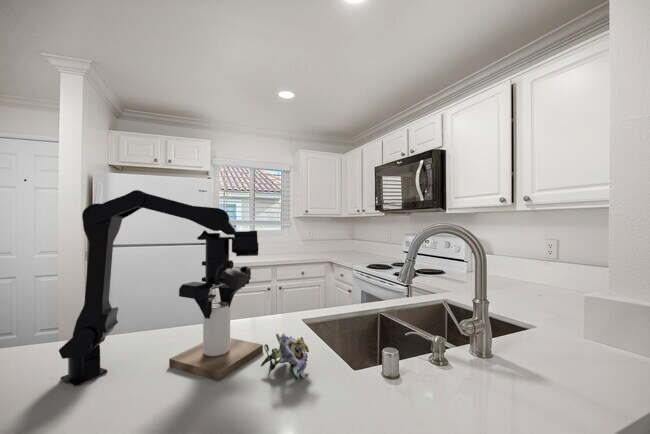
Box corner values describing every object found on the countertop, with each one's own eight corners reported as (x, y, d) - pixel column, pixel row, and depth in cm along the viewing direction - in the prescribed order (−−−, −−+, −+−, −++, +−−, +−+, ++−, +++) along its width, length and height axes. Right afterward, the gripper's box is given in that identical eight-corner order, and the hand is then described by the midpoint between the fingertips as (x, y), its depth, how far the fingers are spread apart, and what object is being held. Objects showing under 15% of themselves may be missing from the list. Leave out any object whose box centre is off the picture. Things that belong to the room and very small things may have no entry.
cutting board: (169, 367, 72) (169, 358, 72) (218, 342, 87) (218, 335, 87) (218, 381, 65) (218, 372, 65) (262, 352, 80) (262, 344, 80)
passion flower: (301, 401, 67) (308, 374, 60) (253, 394, 67) (255, 365, 60) (307, 354, 76) (314, 326, 70) (265, 347, 76) (268, 319, 69)
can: (220, 358, 72) (220, 309, 72) (197, 355, 74) (197, 307, 74) (234, 347, 78) (235, 302, 78) (213, 345, 80) (214, 300, 80)
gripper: (213, 263, 64) (212, 335, 64) (264, 254, 81) (264, 311, 81) (177, 260, 69) (177, 327, 69) (233, 252, 86) (233, 306, 86)
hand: (217, 317), depth 76 cm, fingers closed on can, 5 cm apart
